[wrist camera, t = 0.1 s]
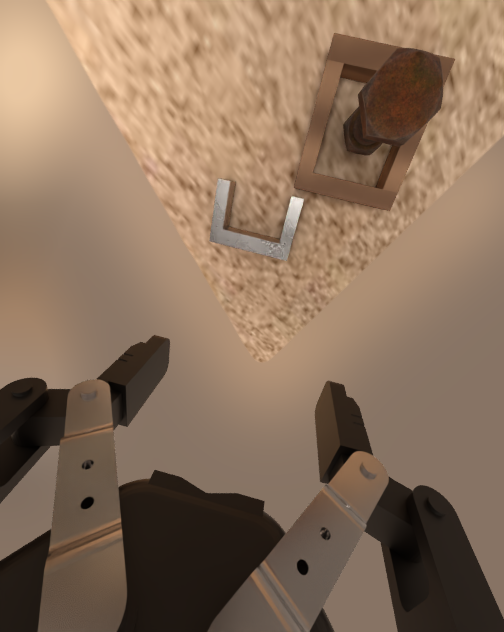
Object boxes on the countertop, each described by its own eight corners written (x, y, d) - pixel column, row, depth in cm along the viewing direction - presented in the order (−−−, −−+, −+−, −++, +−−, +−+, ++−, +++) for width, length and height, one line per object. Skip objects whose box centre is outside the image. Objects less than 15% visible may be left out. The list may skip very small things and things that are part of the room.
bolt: (364, 96, 30) (420, 20, 17) (392, 131, 31) (464, 86, 18) (325, 141, 32) (345, 107, 19) (351, 172, 33) (388, 160, 20)
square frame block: (329, 50, 29) (333, 32, 26) (437, 73, 28) (455, 58, 25) (294, 187, 35) (293, 187, 32) (381, 208, 35) (389, 210, 31)
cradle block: (224, 179, 36) (218, 178, 33) (303, 198, 35) (304, 199, 32) (216, 237, 40) (209, 241, 36) (287, 255, 39) (286, 260, 36)
